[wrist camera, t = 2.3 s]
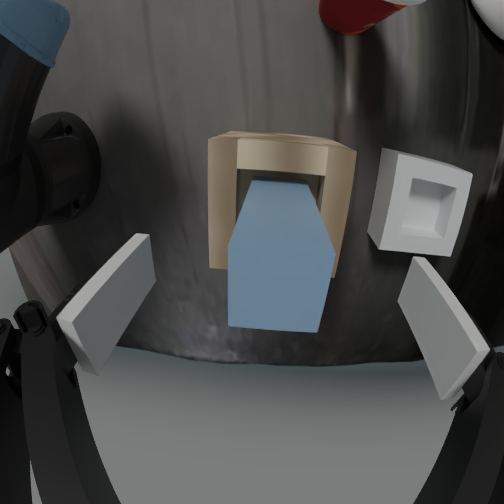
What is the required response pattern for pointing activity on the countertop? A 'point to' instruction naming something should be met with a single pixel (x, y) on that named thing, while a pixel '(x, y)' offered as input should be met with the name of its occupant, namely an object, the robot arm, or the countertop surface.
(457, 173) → the block
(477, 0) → the flower in vase
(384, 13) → the paper cup
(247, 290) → the plug
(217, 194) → the block
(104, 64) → the countertop surface
